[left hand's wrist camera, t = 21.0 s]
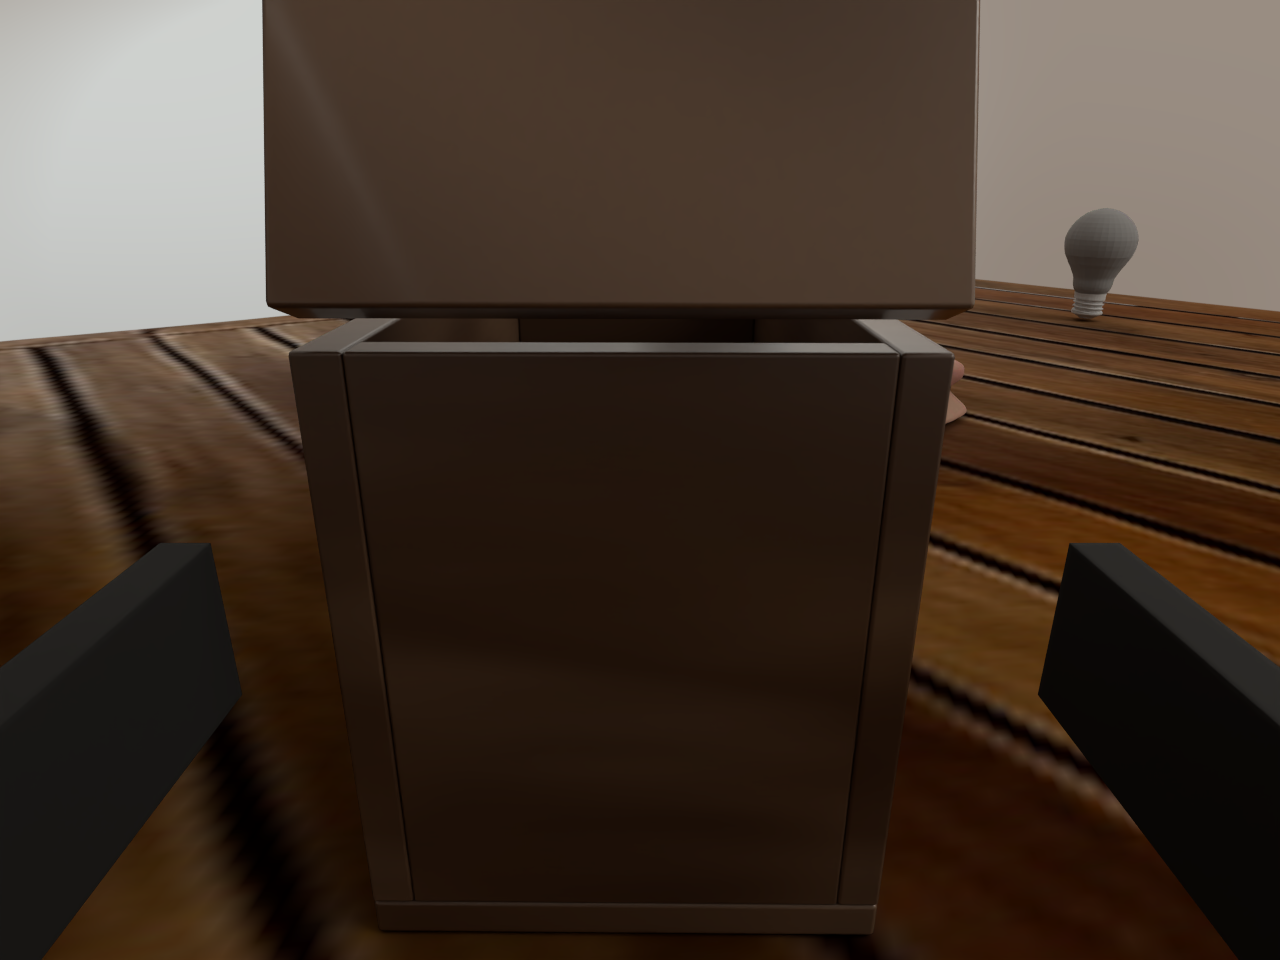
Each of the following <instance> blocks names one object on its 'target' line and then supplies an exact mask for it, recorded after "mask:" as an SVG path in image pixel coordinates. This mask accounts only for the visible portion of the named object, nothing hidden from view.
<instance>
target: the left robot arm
mask: <svg viewBox="0 0 1280 960" xmlns="http://www.w3.org/2000/svg"><path fill="white" fill-rule="evenodd" d="M241 695H242V692H241V687H240V682H239V677H238V673H237V668H236V663H235V658H234V654H233V649H232V644H231V639H230V634H229V630H228V625H227V620H226V615H225V611H224V606H223V601H222V596H221V591H220V587H219V582H218V577H217V572H216V568H215V563H214V558H213V553H212V548H211V544H210V543H160V544H158V545H157V546H156V547H155V548H153V549H152V550H151V551H150V552H148V553H147V554H146V555H144V556H143V557H142V558H141V559H139V560H138V561H137V562H135V563H134V564H133V565H132V566H130V567H129V568H128V569H126V570H125V571H124V572H123V573H121V574H120V575H119V576H117V577H116V578H115V579H114V580H112V581H111V582H110V583H108V584H107V585H106V586H105V587H103V588H102V589H101V590H99V591H98V592H97V593H96V594H94V595H93V596H92V597H90V598H89V599H88V600H87V601H85V602H84V603H83V604H81V605H80V606H79V607H78V608H76V609H75V610H74V611H72V612H71V613H70V614H69V615H67V616H66V617H65V618H63V619H62V620H61V621H60V622H58V623H57V624H56V625H54V626H53V627H52V628H51V629H49V630H48V631H47V632H46V633H44V634H43V635H42V636H40V637H39V638H38V639H37V640H35V641H34V642H33V643H31V644H30V645H29V646H28V647H26V648H25V649H24V650H22V651H21V652H20V653H19V654H17V655H16V656H15V657H13V658H12V659H11V660H10V661H8V662H7V663H6V664H4V665H3V666H2V667H1V668H0V960H41V959H42V958H43V957H44V955H45V954H46V953H47V951H48V950H49V949H50V947H51V946H52V945H53V943H54V942H55V941H56V940H57V938H58V937H59V936H60V934H61V933H62V932H63V930H64V929H65V928H66V926H67V925H68V924H69V922H70V921H71V920H72V918H73V917H74V916H75V914H76V913H77V912H78V910H79V909H80V908H81V907H82V905H83V904H84V903H85V901H86V900H87V899H88V897H89V896H90V895H91V893H92V892H93V891H94V889H95V888H96V887H97V885H98V884H99V883H100V881H101V880H102V879H103V877H104V876H105V875H106V874H107V872H108V871H109V870H110V868H111V867H112V866H113V864H114V863H115V862H116V860H117V859H118V858H119V856H120V855H121V854H122V852H123V851H124V850H125V848H126V847H127V846H128V844H129V843H130V842H131V841H132V839H133V838H134V837H135V835H136V834H137V833H138V831H139V830H140V829H141V827H142V826H143V825H144V823H145V822H146V821H147V819H148V818H149V817H150V815H151V814H152V813H153V811H154V810H155V809H156V808H157V806H158V805H159V804H160V802H161V801H162V800H163V798H164V797H165V796H166V794H167V793H168V792H169V790H170V789H171V788H172V786H173V785H174V784H175V782H176V781H177V780H178V779H179V777H180V776H181V775H182V773H183V772H184V771H185V769H186V768H187V767H188V765H189V764H190V763H191V761H192V760H193V759H194V757H195V756H196V755H197V753H198V752H199V751H200V749H201V748H202V747H203V746H204V744H205V743H206V742H207V740H208V739H209V738H210V736H211V735H212V734H213V732H214V731H215V730H216V728H217V727H218V726H219V724H220V723H221V722H222V720H223V719H224V718H225V716H226V715H227V714H228V713H229V711H230V710H231V709H232V707H233V706H234V705H235V703H236V702H237V701H238V699H239V698H240V697H241ZM1038 695H1039V697H1040V698H1041V699H1042V701H1043V702H1044V703H1045V705H1046V706H1047V707H1048V709H1049V710H1050V711H1051V713H1052V714H1053V715H1054V716H1055V718H1056V719H1057V720H1058V722H1059V723H1060V724H1061V726H1062V727H1063V728H1064V730H1065V731H1066V732H1067V734H1068V735H1069V736H1070V738H1071V739H1072V740H1073V742H1074V743H1075V744H1076V746H1077V747H1078V748H1079V749H1080V751H1081V752H1082V753H1083V755H1084V756H1085V757H1086V759H1087V760H1088V761H1089V763H1090V764H1091V765H1092V767H1093V768H1094V769H1095V771H1096V772H1097V773H1098V775H1099V776H1100V777H1101V779H1102V780H1103V781H1104V782H1105V784H1106V785H1107V786H1108V788H1109V789H1110V790H1111V792H1112V793H1113V794H1114V796H1115V797H1116V798H1117V800H1118V801H1119V802H1120V804H1121V805H1122V806H1123V808H1124V809H1125V810H1126V811H1127V813H1128V814H1129V815H1130V817H1131V818H1132V819H1133V821H1134V822H1135V823H1136V825H1137V826H1138V827H1139V829H1140V830H1141V831H1142V833H1143V834H1144V835H1145V837H1146V838H1147V839H1148V841H1149V842H1150V843H1151V844H1152V846H1153V847H1154V848H1155V850H1156V851H1157V852H1158V854H1159V855H1160V856H1161V858H1162V859H1163V860H1164V862H1165V863H1166V864H1167V866H1168V867H1169V868H1170V870H1171V871H1172V872H1173V874H1174V875H1175V876H1176V877H1177V879H1178V880H1179V881H1180V883H1181V884H1182V885H1183V887H1184V888H1185V889H1186V891H1187V892H1188V893H1189V895H1190V896H1191V897H1192V899H1193V900H1194V901H1195V903H1196V904H1197V905H1198V907H1199V908H1200V909H1201V910H1202V912H1203V913H1204V914H1205V916H1206V917H1207V918H1208V920H1209V921H1210V922H1211V924H1212V925H1213V926H1214V928H1215V929H1216V930H1217V932H1218V933H1219V934H1220V936H1221V937H1222V938H1223V940H1224V941H1225V942H1226V943H1227V945H1228V946H1229V947H1230V949H1231V950H1232V951H1233V953H1234V954H1235V955H1236V957H1237V958H1238V959H1239V960H1280V668H1279V667H1278V666H1277V665H1276V664H1274V663H1273V662H1272V661H1270V660H1269V659H1268V658H1267V657H1265V656H1264V655H1263V654H1261V653H1260V652H1259V651H1258V650H1256V649H1255V648H1254V647H1252V646H1251V645H1250V644H1249V643H1247V642H1246V641H1245V640H1243V639H1242V638H1241V637H1240V636H1238V635H1237V634H1236V633H1234V632H1233V631H1232V630H1231V629H1229V628H1228V627H1227V626H1225V625H1224V624H1223V623H1222V622H1220V621H1219V620H1218V619H1217V618H1215V617H1214V616H1213V615H1211V614H1210V613H1209V612H1208V611H1206V610H1205V609H1204V608H1202V607H1201V606H1200V605H1199V604H1197V603H1196V602H1195V601H1193V600H1192V599H1191V598H1190V597H1188V596H1187V595H1186V594H1184V593H1183V592H1182V591H1181V590H1179V589H1178V588H1177V587H1175V586H1174V585H1173V584H1172V583H1170V582H1169V581H1168V580H1166V579H1165V578H1164V577H1163V576H1161V575H1160V574H1159V573H1157V572H1156V571H1155V570H1154V569H1152V568H1151V567H1150V566H1148V565H1147V564H1146V563H1145V562H1143V561H1142V560H1141V559H1139V558H1138V557H1137V556H1136V555H1134V554H1133V553H1132V552H1130V551H1129V550H1128V549H1127V548H1125V547H1124V546H1123V545H1122V544H1120V543H1070V544H1069V548H1068V553H1067V558H1066V563H1065V568H1064V572H1063V577H1062V582H1061V587H1060V591H1059V596H1058V601H1057V606H1056V611H1055V615H1054V620H1053V625H1052V630H1051V634H1050V639H1049V644H1048V649H1047V654H1046V658H1045V663H1044V668H1043V673H1042V677H1041V682H1040V687H1039V692H1038Z"/></svg>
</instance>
